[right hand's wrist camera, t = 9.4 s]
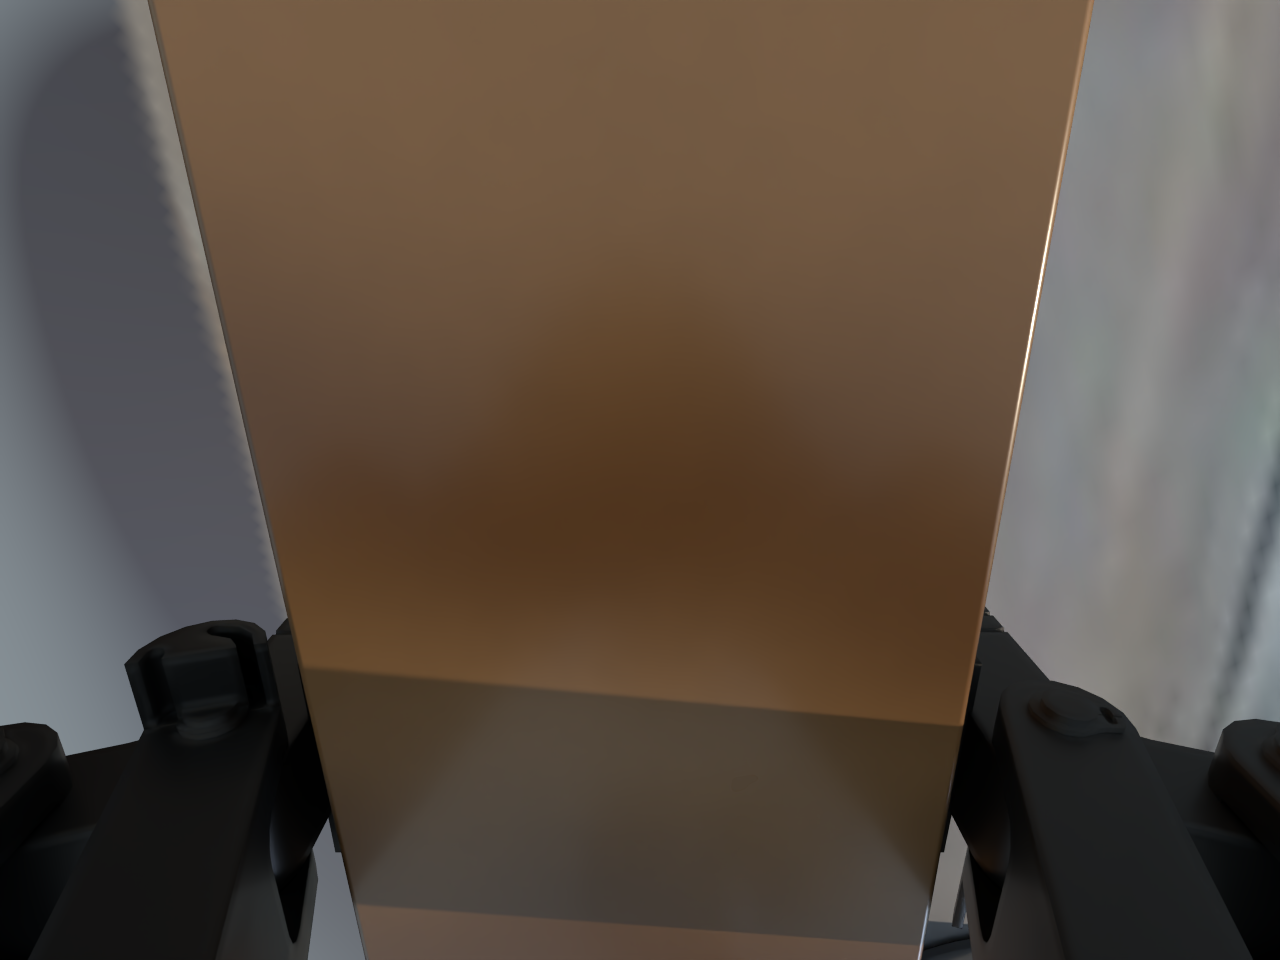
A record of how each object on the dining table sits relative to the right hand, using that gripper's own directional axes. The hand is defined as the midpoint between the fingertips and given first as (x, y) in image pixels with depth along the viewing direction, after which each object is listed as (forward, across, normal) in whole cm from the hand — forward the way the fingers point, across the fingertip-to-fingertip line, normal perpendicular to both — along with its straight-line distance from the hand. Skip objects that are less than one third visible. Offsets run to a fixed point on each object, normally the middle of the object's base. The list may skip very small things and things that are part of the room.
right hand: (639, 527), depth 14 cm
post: (0, +1, -34) cm, 34 cm away
